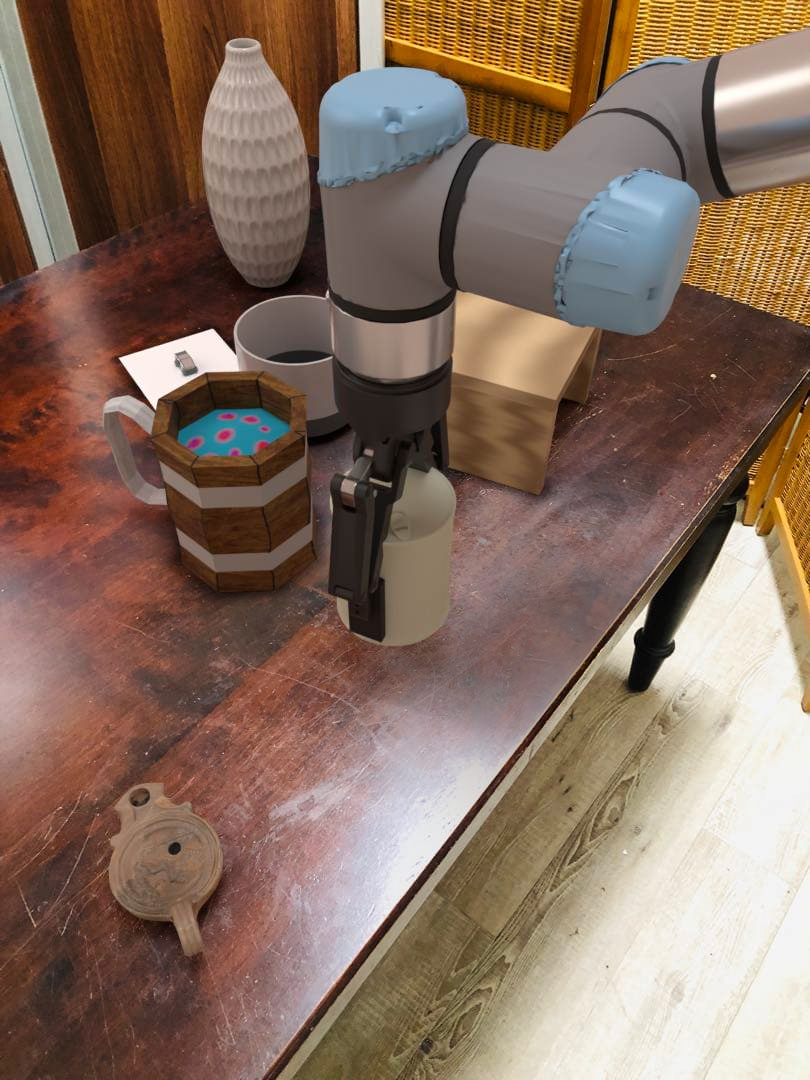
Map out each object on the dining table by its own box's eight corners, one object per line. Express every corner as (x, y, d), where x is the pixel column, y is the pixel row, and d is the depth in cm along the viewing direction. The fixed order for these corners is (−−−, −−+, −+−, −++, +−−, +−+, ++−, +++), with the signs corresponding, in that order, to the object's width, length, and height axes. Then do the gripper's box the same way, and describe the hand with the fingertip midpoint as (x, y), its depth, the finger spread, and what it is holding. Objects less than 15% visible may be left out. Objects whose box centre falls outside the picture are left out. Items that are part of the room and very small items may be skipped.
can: (346, 655, 68) (339, 548, 59) (329, 568, 74) (319, 460, 65) (462, 636, 69) (472, 529, 60) (435, 552, 75) (440, 444, 67)
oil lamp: (99, 820, 64) (82, 787, 60) (199, 781, 66) (188, 747, 63) (142, 997, 56) (125, 971, 52) (254, 946, 58) (246, 917, 55)
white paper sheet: (157, 412, 97) (154, 401, 96) (118, 358, 103) (115, 347, 102) (256, 378, 101) (254, 367, 100) (213, 328, 108) (211, 318, 107)
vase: (246, 245, 122) (218, 19, 102) (330, 262, 120) (319, 33, 99) (201, 290, 114) (161, 53, 94) (291, 309, 111) (270, 70, 91)
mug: (343, 510, 87) (337, 386, 76) (287, 611, 78) (271, 487, 67) (165, 465, 91) (135, 341, 80) (93, 556, 82) (48, 431, 71)
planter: (382, 424, 96) (382, 342, 88) (275, 462, 91) (265, 379, 84) (328, 363, 103) (324, 283, 96) (226, 396, 99) (214, 314, 91)
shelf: (588, 396, 100) (607, 303, 91) (539, 495, 89) (556, 400, 80) (457, 361, 104) (464, 269, 96) (394, 451, 93) (396, 355, 84)
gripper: (407, 259, 62) (405, 493, 78) (248, 437, 48) (285, 675, 65) (508, 282, 60) (484, 517, 76) (371, 475, 46) (378, 711, 62)
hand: (393, 590), depth 70 cm, fingers closed on can, 9 cm apart
